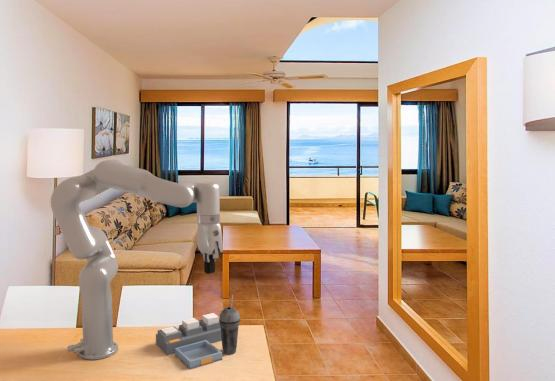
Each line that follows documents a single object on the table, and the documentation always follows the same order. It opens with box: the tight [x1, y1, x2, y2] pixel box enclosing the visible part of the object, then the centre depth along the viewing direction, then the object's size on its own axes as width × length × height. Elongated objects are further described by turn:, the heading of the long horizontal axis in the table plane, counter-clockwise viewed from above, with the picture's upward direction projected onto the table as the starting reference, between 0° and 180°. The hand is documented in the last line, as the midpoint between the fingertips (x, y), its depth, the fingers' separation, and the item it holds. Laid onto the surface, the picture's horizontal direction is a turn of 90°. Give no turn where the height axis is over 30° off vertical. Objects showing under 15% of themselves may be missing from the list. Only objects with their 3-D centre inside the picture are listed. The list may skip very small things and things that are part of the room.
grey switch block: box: [155, 312, 222, 356], centre depth 167 cm, size 22×10×8 cm, turn 126°
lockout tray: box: [174, 340, 223, 370], centre depth 155 cm, size 12×12×2 cm
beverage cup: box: [219, 293, 241, 356], centre depth 159 cm, size 7×7×20 cm
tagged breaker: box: [160, 326, 178, 336], centre depth 162 cm, size 4×4×2 cm
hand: (209, 272), depth 158 cm, fingers closed
